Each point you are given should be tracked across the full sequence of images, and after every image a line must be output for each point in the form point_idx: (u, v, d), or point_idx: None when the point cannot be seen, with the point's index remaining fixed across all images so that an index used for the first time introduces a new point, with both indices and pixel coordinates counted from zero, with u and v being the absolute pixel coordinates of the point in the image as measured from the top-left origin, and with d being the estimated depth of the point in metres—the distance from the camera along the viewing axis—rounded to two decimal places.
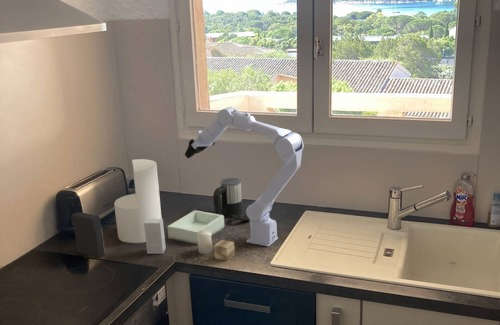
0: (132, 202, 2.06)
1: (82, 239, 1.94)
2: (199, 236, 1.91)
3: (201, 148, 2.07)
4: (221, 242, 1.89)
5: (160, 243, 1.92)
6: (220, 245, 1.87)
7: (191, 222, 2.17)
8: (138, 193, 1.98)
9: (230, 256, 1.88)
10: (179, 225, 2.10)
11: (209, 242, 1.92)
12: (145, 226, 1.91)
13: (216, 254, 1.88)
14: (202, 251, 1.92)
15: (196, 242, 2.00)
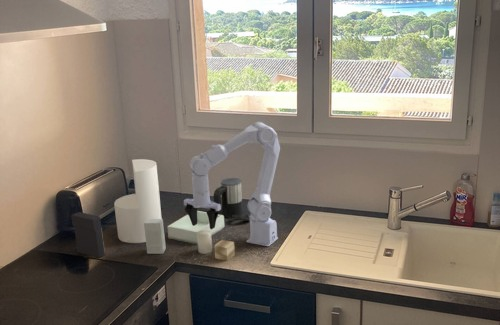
0: (132, 202, 2.06)
1: (82, 239, 1.94)
2: (199, 236, 1.91)
3: (195, 218, 1.94)
4: (221, 242, 1.89)
5: (160, 243, 1.92)
6: (220, 245, 1.87)
7: (191, 222, 2.17)
8: (138, 193, 1.98)
9: (230, 256, 1.88)
10: (179, 225, 2.10)
11: (209, 242, 1.92)
12: (145, 226, 1.91)
13: (216, 254, 1.88)
14: (202, 251, 1.92)
15: (196, 242, 2.00)
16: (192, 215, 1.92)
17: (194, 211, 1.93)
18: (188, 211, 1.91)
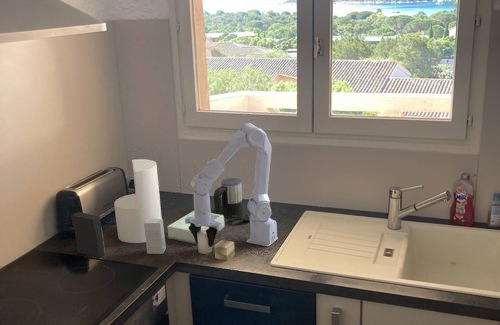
0: (132, 202, 2.06)
1: (82, 239, 1.94)
2: (199, 236, 1.91)
3: None
4: (221, 242, 1.89)
5: (160, 243, 1.92)
6: (220, 245, 1.87)
7: None
8: (138, 193, 1.98)
9: (230, 256, 1.88)
10: (179, 225, 2.10)
11: None
12: (145, 226, 1.91)
13: (216, 254, 1.88)
14: (202, 251, 1.92)
15: None
16: (196, 234, 1.93)
17: (198, 230, 1.94)
18: (192, 230, 1.92)
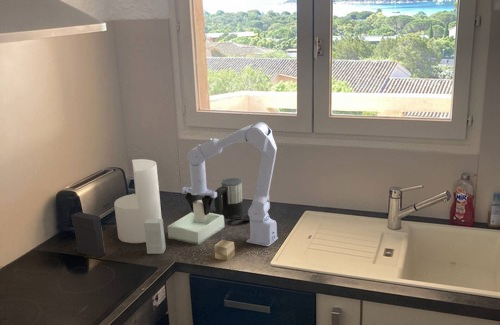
0: (132, 202, 2.06)
1: (82, 239, 1.94)
2: (195, 205, 2.01)
3: None
4: (221, 242, 1.89)
5: (160, 243, 1.92)
6: (220, 245, 1.87)
7: (191, 222, 2.17)
8: (138, 193, 1.98)
9: (230, 256, 1.88)
10: (179, 225, 2.10)
11: None
12: (145, 226, 1.91)
13: (216, 254, 1.88)
14: (198, 219, 2.02)
15: (196, 242, 2.00)
16: (192, 203, 2.04)
17: (194, 199, 2.04)
18: (188, 199, 2.02)
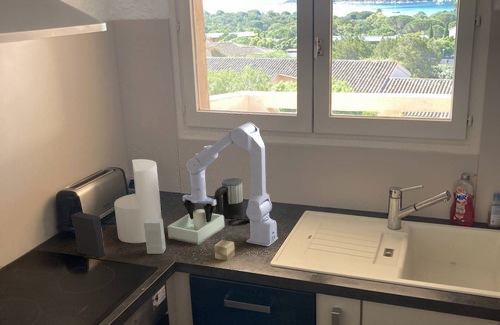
0: (132, 202, 2.06)
1: (82, 239, 1.94)
2: (195, 214, 2.09)
3: None
4: (221, 242, 1.89)
5: (160, 243, 1.92)
6: (220, 245, 1.87)
7: (191, 222, 2.17)
8: (138, 193, 1.98)
9: (230, 256, 1.88)
10: (179, 225, 2.10)
11: (204, 220, 2.10)
12: (145, 226, 1.91)
13: (216, 254, 1.88)
14: (198, 228, 2.10)
15: (196, 242, 2.00)
16: (190, 210, 2.11)
17: (192, 206, 2.12)
18: (186, 206, 2.10)
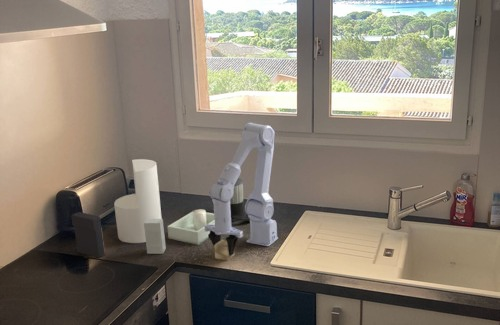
0: (132, 202, 2.06)
1: (82, 239, 1.94)
2: (195, 214, 2.09)
3: None
4: (221, 242, 1.89)
5: (160, 243, 1.92)
6: (220, 245, 1.87)
7: (191, 222, 2.17)
8: (138, 193, 1.98)
9: (230, 256, 1.88)
10: (179, 225, 2.10)
11: (204, 220, 2.10)
12: (145, 226, 1.91)
13: (216, 254, 1.88)
14: (198, 228, 2.10)
15: (196, 242, 2.00)
16: (215, 242, 1.88)
17: (217, 237, 1.89)
18: (212, 238, 1.87)
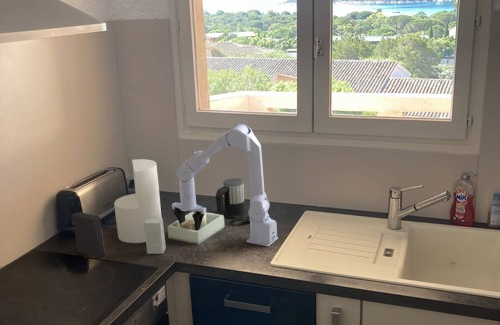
0: (132, 202, 2.06)
1: (82, 239, 1.94)
2: None
3: (183, 220, 2.08)
4: (187, 221, 2.06)
5: (160, 243, 1.92)
6: (185, 224, 2.04)
7: None
8: (138, 193, 1.98)
9: None
10: (179, 225, 2.10)
11: (204, 220, 2.10)
12: (145, 226, 1.91)
13: None
14: None
15: (196, 242, 2.00)
16: (180, 218, 2.06)
17: (182, 214, 2.06)
18: (176, 214, 2.05)
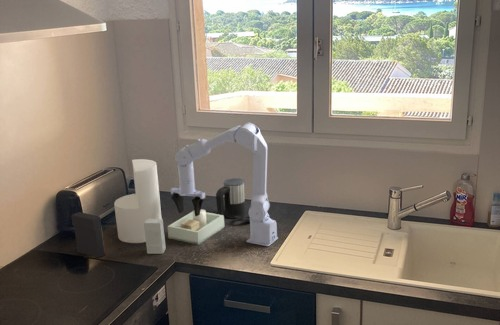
0: (132, 202, 2.06)
1: (82, 239, 1.94)
2: None
3: (182, 206, 2.06)
4: (187, 221, 2.06)
5: (160, 243, 1.92)
6: (185, 224, 2.04)
7: None
8: (138, 193, 1.98)
9: None
10: (179, 225, 2.10)
11: (204, 220, 2.10)
12: (145, 226, 1.91)
13: None
14: None
15: (196, 242, 2.00)
16: (178, 203, 2.04)
17: (180, 199, 2.05)
18: (175, 199, 2.03)
